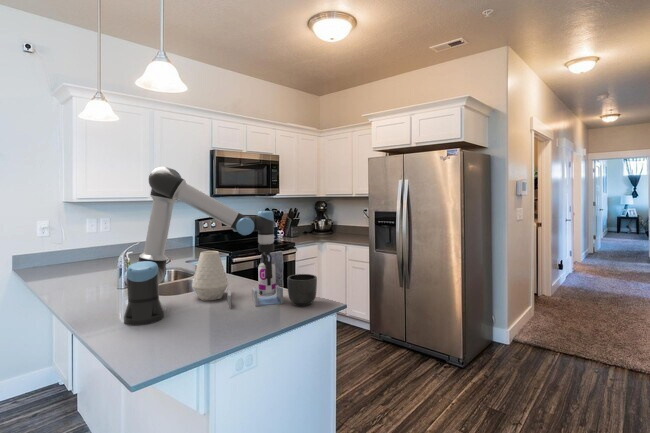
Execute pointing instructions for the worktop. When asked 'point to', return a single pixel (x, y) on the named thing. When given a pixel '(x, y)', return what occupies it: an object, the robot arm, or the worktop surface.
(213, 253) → the vase
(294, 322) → the worktop surface
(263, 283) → the supplement can
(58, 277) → the worktop surface
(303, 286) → the planter
